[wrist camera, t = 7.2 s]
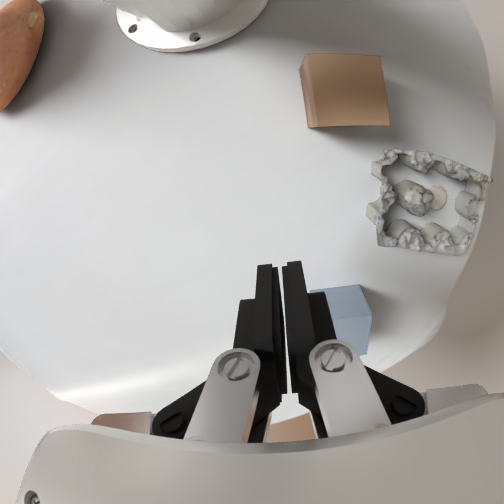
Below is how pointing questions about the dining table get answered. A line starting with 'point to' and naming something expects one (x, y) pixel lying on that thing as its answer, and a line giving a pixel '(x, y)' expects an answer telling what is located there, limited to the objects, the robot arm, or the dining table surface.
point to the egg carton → (426, 204)
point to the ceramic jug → (18, 45)
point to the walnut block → (344, 90)
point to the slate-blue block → (350, 315)
